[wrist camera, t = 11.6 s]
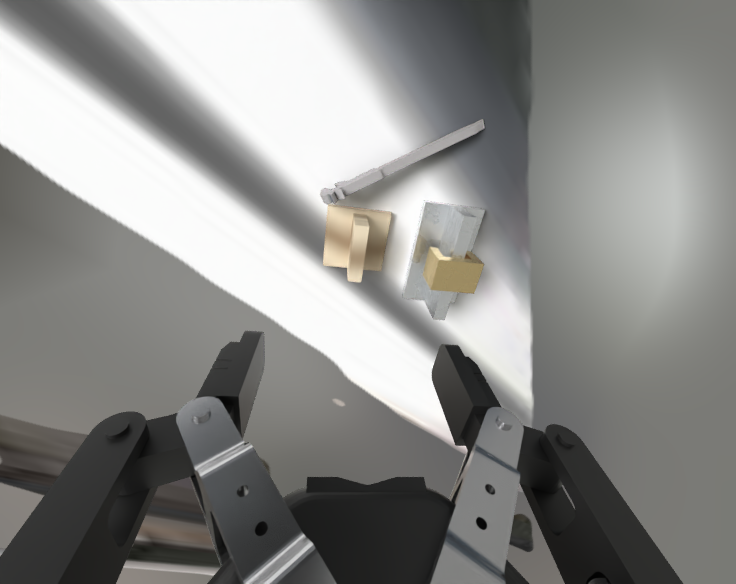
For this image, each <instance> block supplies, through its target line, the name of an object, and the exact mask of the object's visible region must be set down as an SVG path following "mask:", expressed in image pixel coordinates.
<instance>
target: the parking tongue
mask: <svg viewBox="0 0 736 584" xmlns="http://www.w3.org/2000/svg"><path fill="white" fill-rule="evenodd" d="M390 220H391V212H386V211H379V210H371V209H363V208H355V207H348V206H340V205H332V204H328V211H327V223H326V235H325V247H324V259H323V265H324V266H334V267H344V268H347V274H348V281H352V282H361V279H362V272H363V269H364V270H374V271H381V269H382V263H383V258H384V252H385V247H386V241H387V236H388V231H389V225H390Z"/></svg>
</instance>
